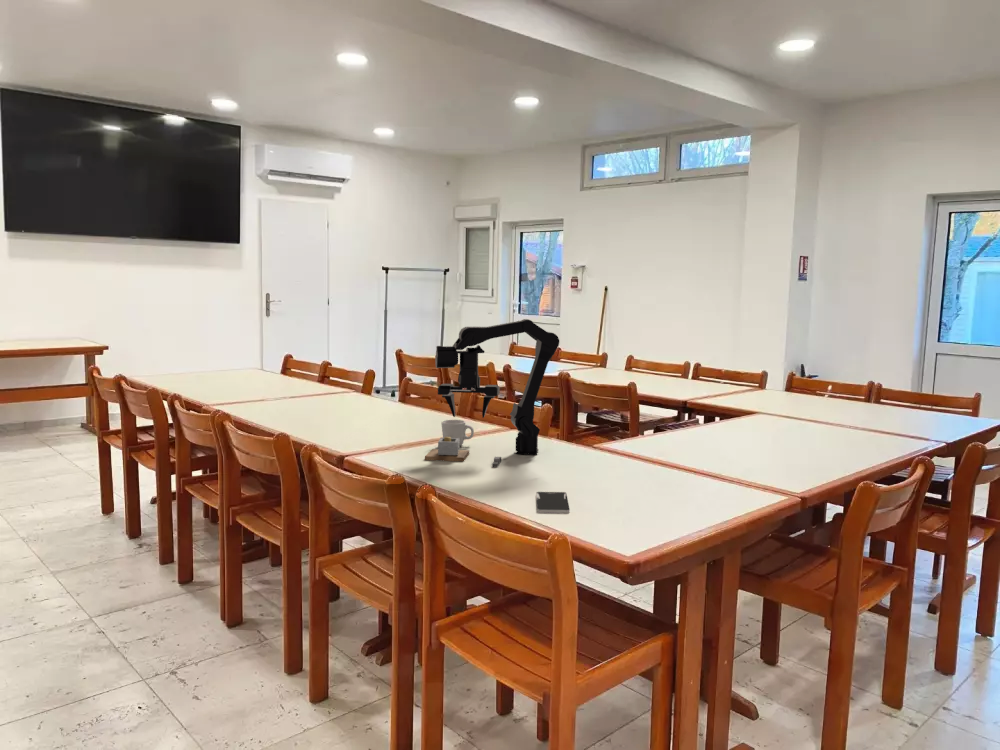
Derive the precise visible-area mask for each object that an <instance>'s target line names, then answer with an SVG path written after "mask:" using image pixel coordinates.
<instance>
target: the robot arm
mask: <svg viewBox="0 0 1000 750" xmlns="http://www.w3.org/2000/svg"><path fill="white" fill-rule="evenodd" d="M522 333H523V334H524V333H526V335H528V336H529V337H531V338H532V339H533V340H534V341H536V343H535V350H534V351H535V352H534V353H535V354H534V355H535V356H534V360H533V364H532V367H531V370H530V373H529V375H528V378H527V381H526V384H525V388H524V391H523V394H522V397H521V399H520V401H518V402H519V403H516V402H514V403H513V405H512V410H511V412H510V413H509V415H510V421H511V424H512V425H513V426H514V427H515V428H516V429H517V436H516V438H515V451H516V455H533V456H534V455H535V456H536V455H537V454H538V453H539V448H538V447H539V446H538V445H539V444H538V443H539V442H538V441H539V433H540V432H541V431H540V430H541V429H540V428H539V427H538V426H537V425H536V424H535V423H534V418H535V403H536V401H537V397H538V394H539V391H540V387H541V385H542V382H543V379H544V376H545V373H546V370H547V367H548V364H549V362H550V360H551V359H552V358H553V356H554V355H555V353H556V351H557V350H558V347H559V345H560V338H559V337H558V335H557V334H556V333H554V332H552V331H551V332H550V331H547V330H546V329H544V328H542V327H540V326H539V325H537V324H536V323H534V322H533V320H532V319H527V318H523V319H521V320H518V321H517V320H516V321H511V322H506V323H501V324H495V325H489V326H464V327H462V328H461V329H460V331H459V333H458V338H457V339H456V341H455V342H453V343H454V344H452V346H451V345H450V346H449V345H447V346H443V345H437V346H435V347H436V352H435V356H434V360H435V361H434V363H435V368H436V369H449V368H452V369H454V368H455V367H456V366H457V365H459V373H458V379H457V382H458V384H459V386H454V383H442V384H440V385H439V386H438V387H437V395H441V398H442V399H443V398H444V399H445V401H446V402H447V404H448V407H449V410H450V411H451V414H452V417H453V418H456V404H455V393H465V394H467V393H468V394H470V393H471V394H484V396H483V402H482V410H481V411H482V412H481V415H482V417H481V418H482V419H484V418H485V416H486V414H487V410H488V407H489V405H490V401H492V399H493V400H494V398H496V397H498V396H499V395H500V391H501V388H500V386H499V385H498V384H486V385H485V386H481V377H480V376H479V354H484V353H485V350H484V349H483V348H482V347H481V346H480V345H479V344H482V343H484V342H486V341H489V340H492V339H497V338H501V337H506V336H508V337H509V336H512V335H517V334H518V335H519V334H522ZM474 346H475V347H474Z"/></svg>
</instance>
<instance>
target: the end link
mask: <svg viewBox="0 0 1000 750" xmlns="http://www.w3.org/2000/svg"><path fill="white" fill-rule="evenodd" d="M437 449H438V455H458V453H459V451H460V450H461V447H460V438H451V442H449V441H444V438H443V437H440V438H439V440H438V441H437Z"/></svg>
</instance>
